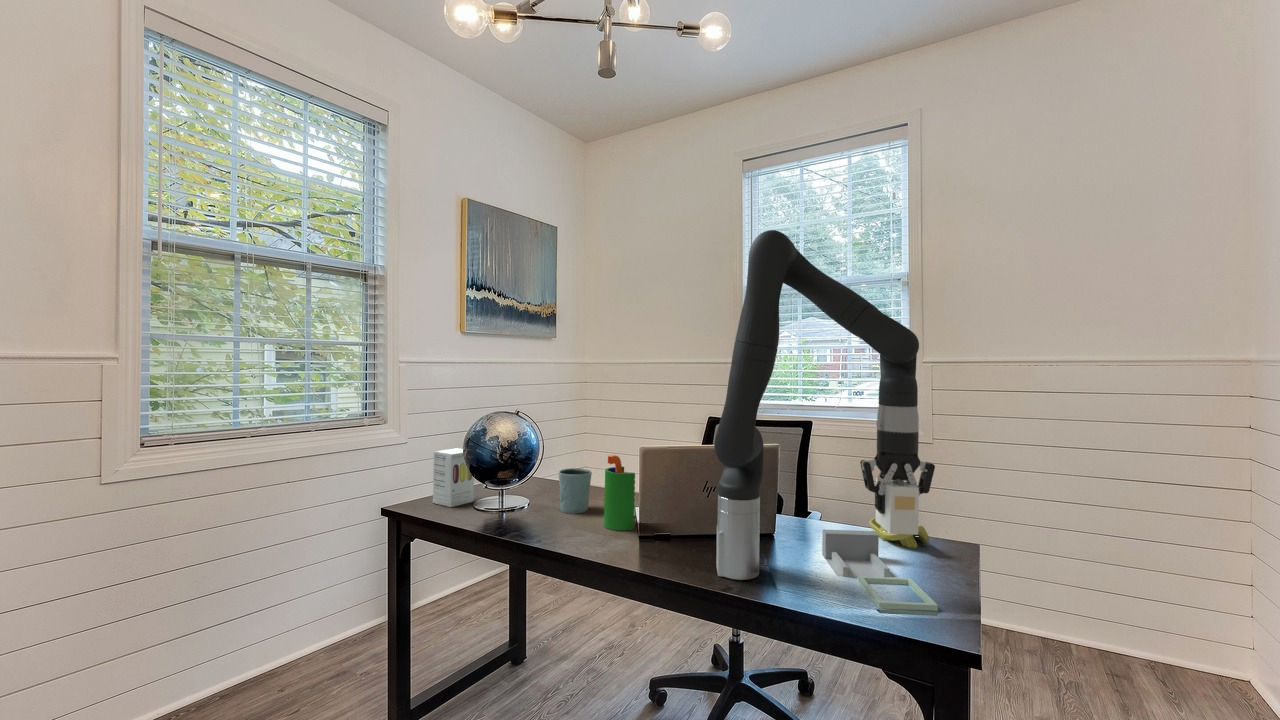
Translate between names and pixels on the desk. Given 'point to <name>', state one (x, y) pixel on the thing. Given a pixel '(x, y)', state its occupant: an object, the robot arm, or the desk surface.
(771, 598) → the desk surface
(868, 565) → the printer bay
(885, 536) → the plastic component
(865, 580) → the tray
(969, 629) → the desk surface
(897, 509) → the labeled white box
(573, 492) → the pale teal cup
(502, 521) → the desk surface
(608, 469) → the motor
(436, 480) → the supplement box
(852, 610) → the desk surface
